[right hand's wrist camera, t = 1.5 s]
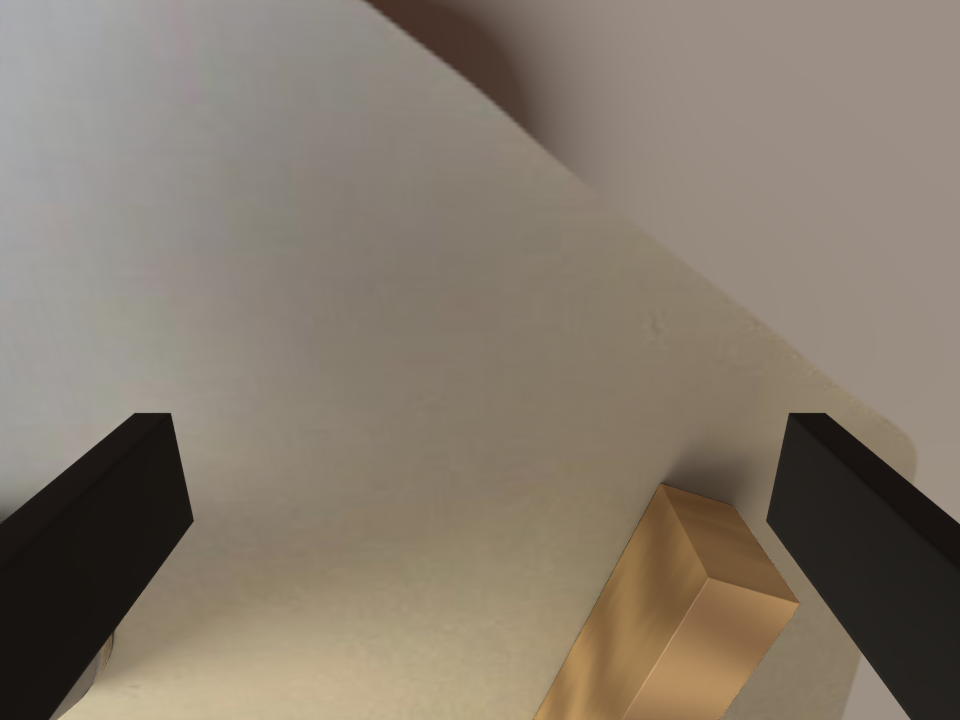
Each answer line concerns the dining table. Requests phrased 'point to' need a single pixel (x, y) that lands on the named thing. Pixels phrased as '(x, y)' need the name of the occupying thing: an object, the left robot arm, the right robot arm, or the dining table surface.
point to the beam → (675, 619)
